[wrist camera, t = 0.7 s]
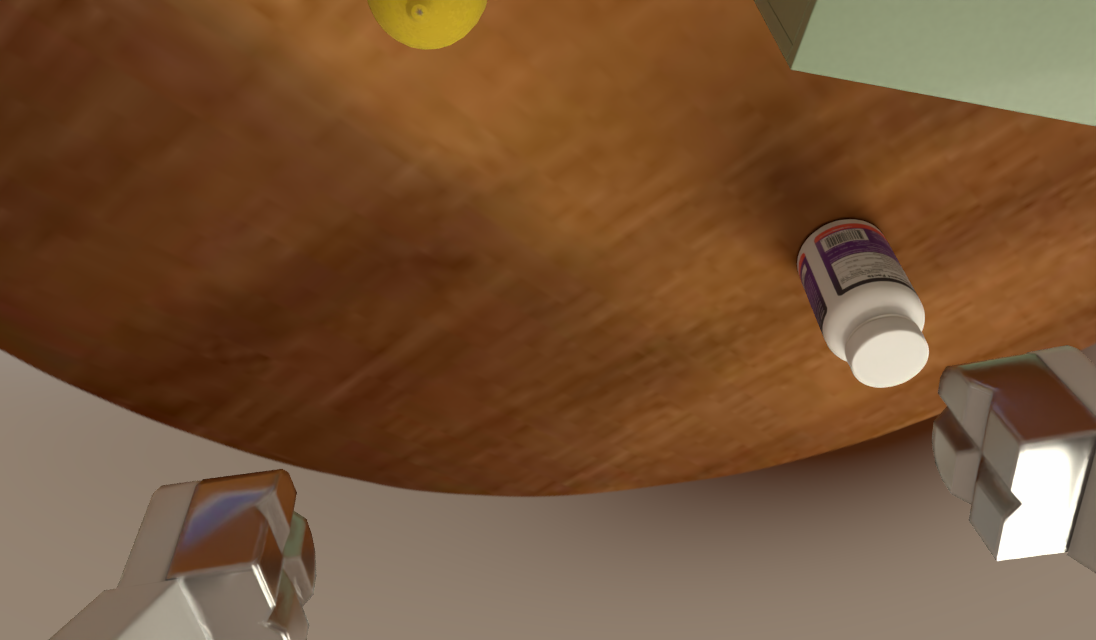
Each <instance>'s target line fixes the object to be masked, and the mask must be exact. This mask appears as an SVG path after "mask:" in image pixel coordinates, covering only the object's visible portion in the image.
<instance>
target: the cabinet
mask: <svg viewBox="0 0 1096 640" xmlns="http://www.w3.org/2000/svg"><path fill="white" fill-rule="evenodd" d="M754 2H755V4H756V5H757V7H758V9H759V11H760V13H761V15H762V17H763V18H764V20H765V22H766V24H767V26H768V28H769V30H770V32H771V33H772V35H773V37H774V39H775V41H776V43H777V45H778V47H779V48H780V50H781V52H782V54H783V56H784V58H785V60H786V61H787V63H788V65H789V67H790V69H791V70H797V71H802V72H807V73H813V74H818V75H823V76H829V77H834V78H840V79H845V80H850V81H856V82H861V83H866V84H872V85H877V86H882V87H888V88H893V89H899V90H904V91H909V92H915V93H920V94H925V95H931V96H936V97H942V98H947V99H952V100H958V101H963V102H968V103H974V104H979V105H984V106H990V107H995V108H1001V109H1006V110H1011V111H1017V112H1022V113H1027V114H1033V115H1038V116H1043V117H1049V118H1054V119H1060V120H1065V121H1070V122H1076V123H1081V124H1086V125H1092V126H1096V0H754Z"/></svg>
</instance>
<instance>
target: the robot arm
mask: <svg viewBox="0 0 1096 640" xmlns="http://www.w3.org/2000/svg"><path fill="white" fill-rule="evenodd" d="M938 394H939V395H940V397H941V398H942V399H943V401H944V402H945V403H946V405H947V407H946V408H945V409H944V410H943V412H942V413H941V414H940V415H939V416H938V417H937V418H936V419H935V421H934V426H933V436H932V446H933V452H934V458H935V463H936V466H937V469H938V471H939V473H940V476H941V478H942V480H943V482H944V483H945V485H946V486H947V488H948V490H949V491H950V493H951V494H952V495H954V496H956V497H958V498H960V499H962V500H964V501H966V502H967V503H969V504H971V511H970V517H969V521H970V523H971V524H972V526H973V527H974V529H975V530H976V532H977V533H978V534H979V536H980V537H981V539H982V540H983V542H984V543H985V545H986V546H987V548H988V549H989V551H990V552H991V554H992V555H993V557H994V558H995V560H996V561H1000V560H1008V559H1014V558H1023V557H1030V556H1038V555H1046V554H1054V553H1061V552H1068V554H1067V555H1068V556H1070V557H1071V558H1073V559H1074V560H1076V561H1077V562H1079V563H1080V564H1082V565H1084V566H1085V567H1087V568H1088V569H1090V570H1091V571H1093V572H1095V573H1096V366H1095V365H1094V364H1093V363H1092V362H1091V361H1090V360H1089V359H1088V358H1087V357H1086V356H1085V355H1084V354H1083V353H1082V352H1081V351H1080V350H1078V349H1076V348H1074V347H1071V346H1068V345H1066V346H1060V347H1055V348H1049V349H1043V350H1038V351H1032V352H1027V353H1026V354H1020V355H1014V356H1008V357H1002V358H995V359H989V360H983V361H977V362H970V363H964V364H958V365H952V366H946V368H945V370H944V371H943V373H942V375H941V377H940V383H939V390H938ZM296 494H297V492H296V490H295V488H294V485H293V482H292V480H291V477H290V475H289V473H288V472H287V471H285V470H283V469H278V470H271V471H263V472H255V473H248V474H240V475H232V476H225V477H218V478H210V479H203V480H202V481H192V482H185V483H177V484H170V485H163V486H161V487H160V488H159V489H157V490H156V491H155V492H154V493H153V495H152V498H151V500H150V503H149V505H148V508H147V511H146V513H145V516H144V518H143V521H142V523H141V526H140V529H139V532H138V534H137V537H136V539H135V542H134V545H133V547H132V549H131V552H130V555H129V558H128V560H127V563H126V565H125V568H124V570H123V573H122V576H121V578H120V581H119V583H118V586H117V588H116V589H110V590H104V591H103V592H102V593H101V594H100V595H99V596H98V597H96V598H95V599H94V600H93V601H92V602H91V603H89V604H88V605H87V606H86V607H85V608H84V609H83V610H82V611H81V612H79V613H78V614H77V615H76V616H75V617H74V618H73V619H71V620H70V621H69V622H68V623H67V624H66V625H65V626H64V627H62V628H61V629H60V630H59V631H58V632H57V633H56V634H55V635H53V636H52V637H51V638H50V639H49V640H307V635H308V629H309V623H308V620H307V618H306V615H305V613H304V610H303V606H304V605H305V603H306V602H307V601H308V600H309V599H310V598H311V597H312V596H313V594H314V587H315V580H316V560H315V548H314V543H313V538H312V534H311V531H310V528H309V525H308V522H307V519H305V518H304V517H302V516H301V515H299V514H298V513H296V512H295V511H294V505H295V500H296Z"/></svg>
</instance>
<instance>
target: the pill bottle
mask: <svg viewBox="0 0 1096 640" xmlns="http://www.w3.org/2000/svg"><path fill="white" fill-rule="evenodd" d="M797 268H798V273H799V276H800V279H801V282H802V284H803V287H804V289H805V292H806V294H807V297H808V299H809V302H810V304H811V307H812V309H813V312H814V314H815V317H816V319H817V322H818V324H819V327H820V329H821V332H822V334H823V337H824V339H825V341H826V343H827V345H828V347H829V348H830V350H831V351H832V352H833V353H834V354H835V355H836V356H838V357H839V358H841V359H842V360H844V361H847V362H848V364H849V366H850V368H851V370H852V372H853V374H854V376H855V377H856V378H857V379H858V380H859V381H860V382H862V383H863V384H865V385H868V386H871V387H891V386H895V385H898V384H901V383H904V382H906V381H907V380H909V379H911V378H912V377H914V376H915V375H916V374H918V373H919V372H920V370H921V369H922V368H923V367H924V365H925V364H926V362H927V359H928V355H929V348H928V344H927V342H926V340H925V338H924V335H923V334H922V329H923V326H924V321H925V314H924V309H923V306H922V303H921V301H920V299H919V298H918V295H917V294H916V292H915V290H914V289H913V287H912V285H911V283H910V281H909V280H908V277H907V276H906V274H905V272H904V271H903V269H902V267H901V265H900V263H899V262H898V260H897V258H896V256H895V254H894V253H893V251H892V249H891V247H890V245H889V243H888V241H887V240H886V238H885V237H884V235H883V234H882V233H881V231H880V230H879V229H878V228H876V227H875V226H874V225H872V224H870V223H868V222H865V221H862V220H856V219H845V220H838V221H834V222H831V223H829V224H826V225H824V226H822V227H821V228H819V229H818V230H816V231H815V232H814V233H813V234H811V235H810V236H809V237H808V238H807V240H806V241H805V242H804V244H803V245H802V247H801V249H800V252H799V255H798V260H797Z"/></svg>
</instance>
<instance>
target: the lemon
mask: <svg viewBox="0 0 1096 640" xmlns="http://www.w3.org/2000/svg"><path fill="white" fill-rule="evenodd" d="M367 1H368V5H369V7H370V9H371V11H372V13H373V15H374V17H375V19H376V21H377V22H378V23H379V24H380V26H381V27H382V28H383V29H384V31H385V32H386V33H388V34H389V35H390V36H392V37H393V38H394V39H395V40H397V41H399V42H401V43H403V44H405V45H407V46H409V47H414V48H419V49H438V48H442V47H446V46H449V45H451V44H453V43H455V42H456V41H458V40H460V39H461V38H463V37H464V36H465V35H466V34H467V33H468V32H469V31H470V30H471V29H472V28H473V27H474V26H475V25H476V24H477V22H478V20H479V18H480V17H481V15H482V13H483V11H484V9H485V7H486V3H487V0H367Z"/></svg>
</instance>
